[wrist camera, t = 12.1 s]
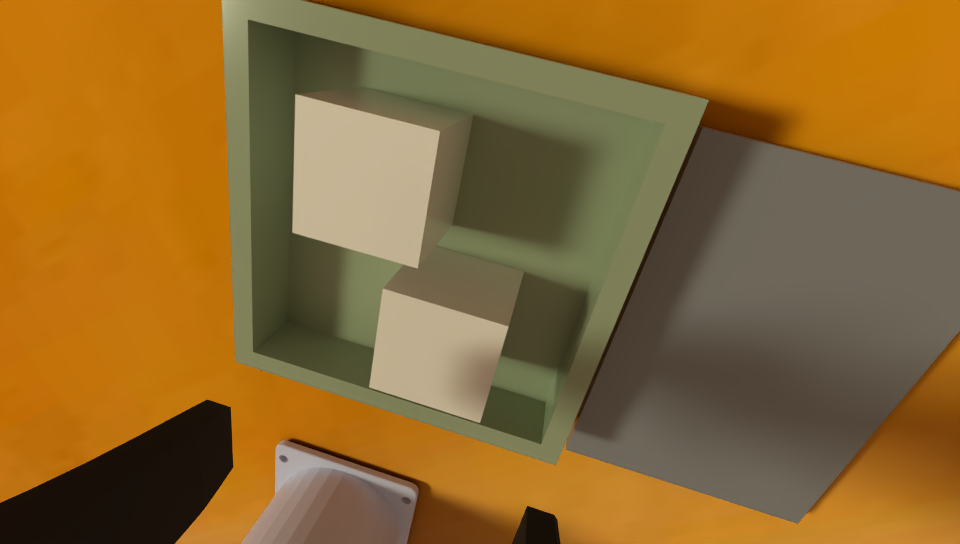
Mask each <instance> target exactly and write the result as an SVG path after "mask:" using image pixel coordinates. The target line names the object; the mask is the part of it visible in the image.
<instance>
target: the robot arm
mask: <svg viewBox="0 0 960 544" xmlns="http://www.w3.org/2000/svg"><path fill="white" fill-rule="evenodd" d="M232 468H233V453H232V428H231V407H228V406H225V405H222V404H219V403H216V402H213V401H210V400H206V401H204V402H202V403H200V404H198V405H196V406H194V407H192V408H190V409H188V410H186V411H184V412H182V413H181V414H179V415H177V416H175V417H173V418H171V419H169V420H167V421H165V422H164V423H162V424H160V425H158V426H156V427H154V428H152V429H150V430H149V431H147V432H145V433H143V434H141V435H139V436H137V437H135V438H133V439H132V440H130V441H128V442H126V443H124V444H122V445H120V446H118V447H116V448H114V449H112V450H110V451H108V452H106V453H104V454H102V455H100V456H98V457H96V458H95V459H93V460H91V461H89V462H87V463H85V464H83V465H81V466H79V467H76V468H74V469H72V470H70V471H68V472H66V473H64V474H62V475H60V476H58V477H55V478H53V479H51V480H49V481H47V482H45V483H43V484H41V485H39V486H37V487H34V488H32V489H30V490H28V491H26V492H24V493H21V494H19V495H17V496H15V497H12V498H10V499H8V500H6V501H3V502H1V503H0V544H175V543H176V542H177V540H178V539H179V538H180V537H181V536H182V535H183V533H184V532H185V531H186V530H187V529H188V528H189V526H190V525H191V524H192V523H193V522H194V521H195V519H196V518H197V517H198V516H199V515H200V513H201V512H202V511H203V510H204V508H205V507H206V506H207V504H208V503H209V501H210V500H211V499H212V497H213V496H214V494H215V493H216V492H217V490H218V489H219V487H220V486H221V484H222V483H223V481H224V480H225V478H226V477H227V475H228V474H229V472H230V471H231V470H232ZM418 493H419V489H418V487H417V486H416V485H415V484H414V483H411V482H409V481H406V480H403V479H400V478H397V477H394V476H391V475H388V474H385V473H382V472H379V471H376V470H373V469H370V468H367V467H364V466H361V465H358V464H355V463H352V462H349V461H346V460H343V459H340V458H337V457H334V456H331V455H328V454H325V453H322V452H320V451H317V450H314V449H311V448H308V447H305V446H302V445H299V444H296V443H293V442H290V441H286V440H284V441H281V442H280V443H279V444H278V445H277V447H276V466H275V496H274V498H273V499H272V500H271V502H270V503H269V505H268V506H267V507H266V509H265V510H264V512H263V513H262V515H261V516H260V517H259V519H258V520H257V522H256V523H255V524H254V526H253V527H252V529H251V530H250V531H249V533H248V534H247V536H246V537H245V539H244V540H243V541H242V543H241V544H407V541H408V537H409V532H410V528H411V524H412V519H413V515H414V511H415V506H416V502H417V498H418ZM512 544H560V538H559V531H558V522H557V519H556V517H555V516H554V515H553V514H550V513H547V512H544V511H541V510H538V509H535V508H532V507H529V506H527V508H526V510H525V513H524V515H523V518H522V520H521V523H520V525H519V528H518V530H517V533H516V535H515V538H514V540H513V543H512Z"/></svg>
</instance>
